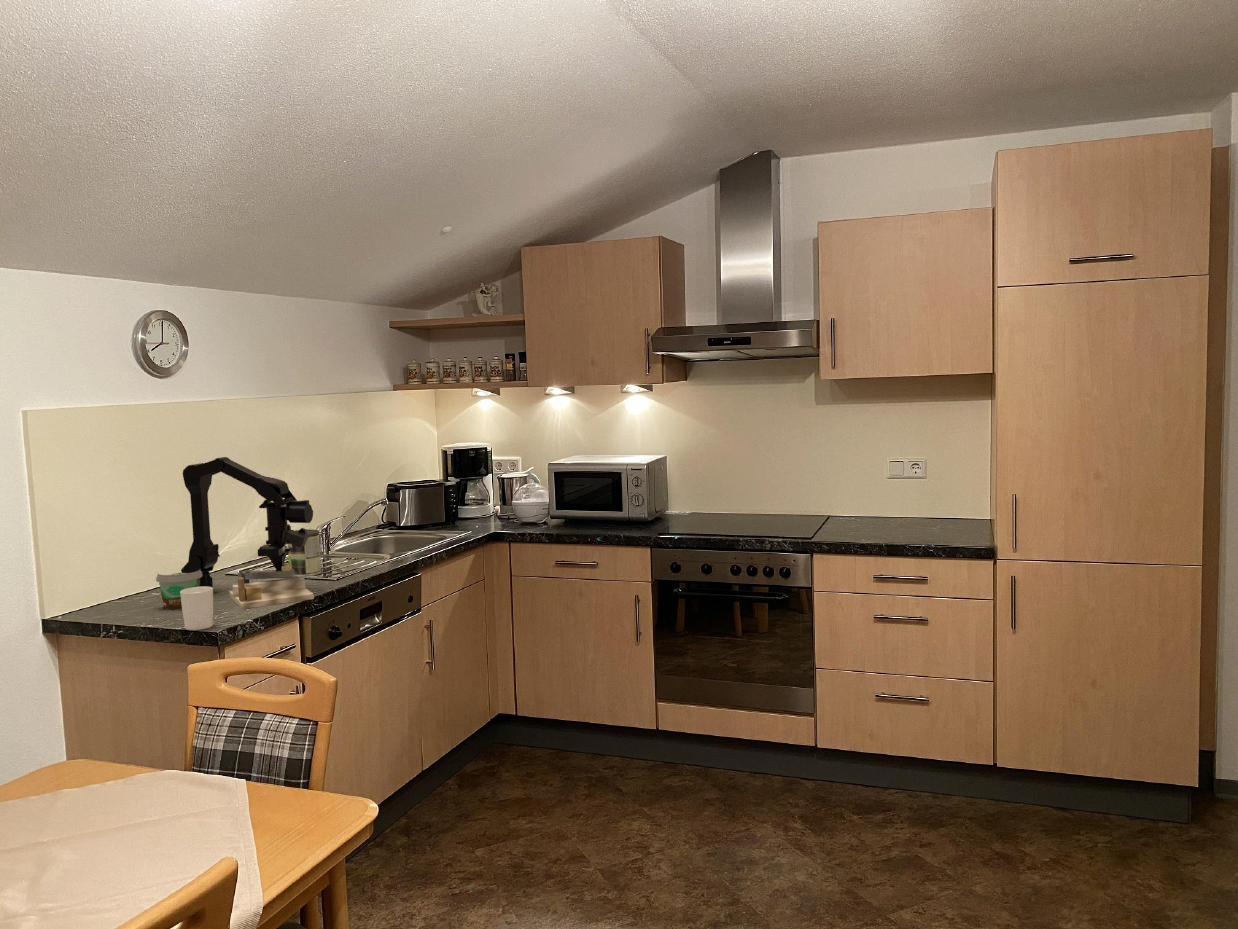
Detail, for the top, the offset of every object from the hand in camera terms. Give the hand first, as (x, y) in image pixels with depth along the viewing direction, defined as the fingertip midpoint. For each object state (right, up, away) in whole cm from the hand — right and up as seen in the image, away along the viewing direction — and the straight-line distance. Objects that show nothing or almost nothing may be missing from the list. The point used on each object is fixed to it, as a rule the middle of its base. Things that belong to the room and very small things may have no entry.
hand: (280, 573), depth 287 cm
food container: (-24, -8, -14) cm, 28 cm away
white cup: (-8, -10, -37) cm, 39 cm away
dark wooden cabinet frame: (-3, -1, -3) cm, 4 cm away
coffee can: (-2, -4, +30) cm, 30 cm away
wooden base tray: (-1, -7, -5) cm, 8 cm away
